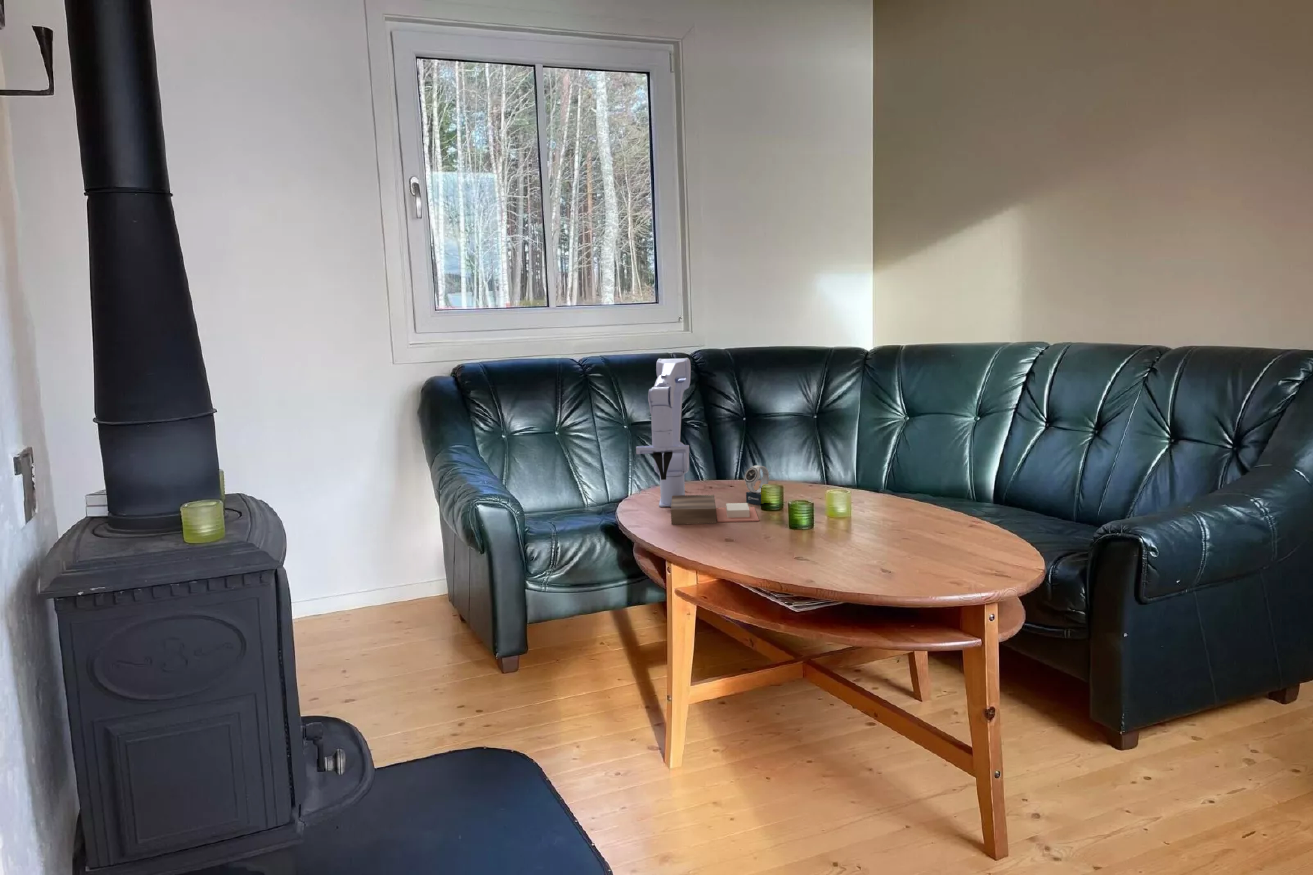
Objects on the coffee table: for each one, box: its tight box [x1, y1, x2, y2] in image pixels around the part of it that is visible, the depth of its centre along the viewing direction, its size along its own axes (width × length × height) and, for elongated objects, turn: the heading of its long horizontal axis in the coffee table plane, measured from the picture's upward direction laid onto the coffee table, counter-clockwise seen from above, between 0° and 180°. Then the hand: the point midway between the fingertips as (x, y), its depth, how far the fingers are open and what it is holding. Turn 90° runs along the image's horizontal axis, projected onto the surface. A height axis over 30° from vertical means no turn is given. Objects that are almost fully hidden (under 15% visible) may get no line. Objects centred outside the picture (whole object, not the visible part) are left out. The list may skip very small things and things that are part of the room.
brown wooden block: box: [670, 494, 717, 525], centre depth 233 cm, size 18×12×4 cm, turn 178°
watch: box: [743, 464, 770, 506], centre depth 246 cm, size 6×8×11 cm
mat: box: [716, 506, 760, 523], centre depth 232 cm, size 16×11×1 cm
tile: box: [725, 502, 750, 518], centre depth 232 cm, size 9×6×2 cm, turn 177°
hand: (663, 479), depth 233 cm, fingers closed
